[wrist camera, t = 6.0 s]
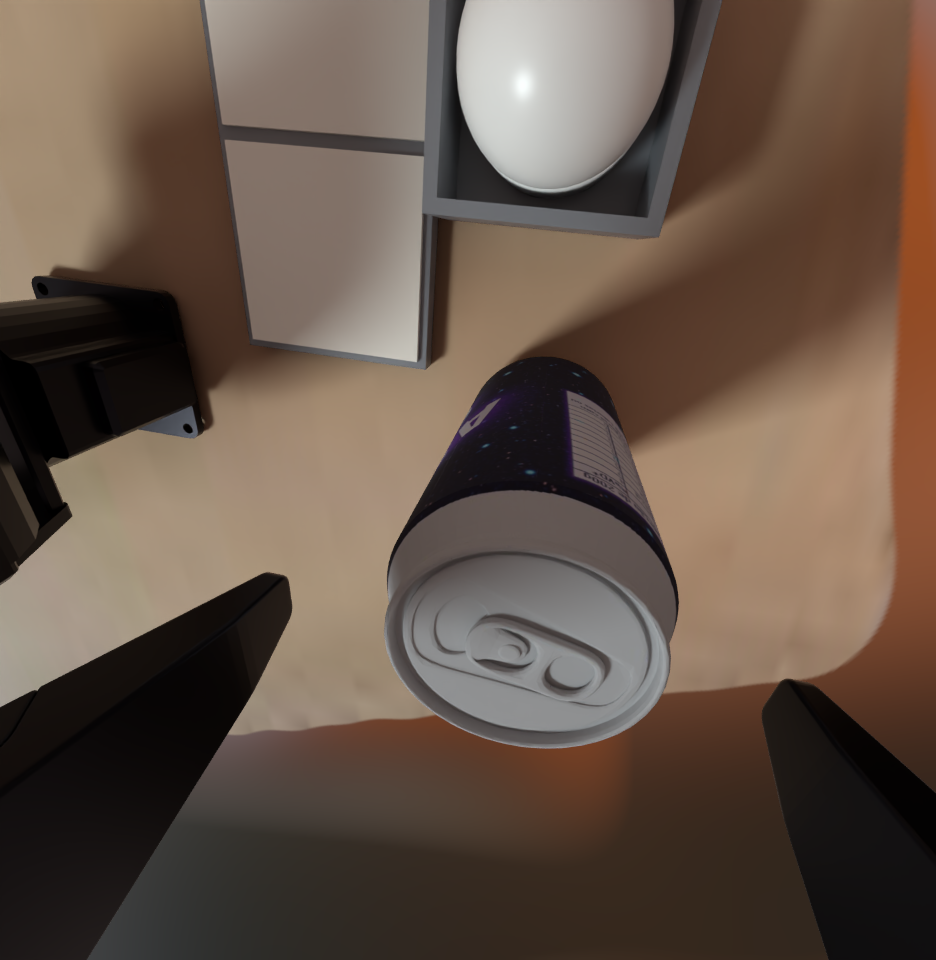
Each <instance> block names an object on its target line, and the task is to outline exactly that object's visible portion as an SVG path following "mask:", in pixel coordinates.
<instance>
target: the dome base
mask: <svg viewBox="0 0 936 960" xmlns="http://www.w3.org/2000/svg"><path fill="white" fill-rule="evenodd" d="M465 2H466V0H429V26H428V54H427V83H426V111H425V140H424V168H423V197H422V213H423V214H427V215H431V216H435V217H439V218H443V219H447V220H454V221H464V222H474V223H484V224H493V225H503V226H513V227H523V228H533V229H542V230H552V231H562V232H572V233H582V234H592V235H601V236H611V237H621V238H631V239H646V238H656V237H659V236H660V232H661V228H662V224H663V221H664V217H665V213H666V209H667V206H668V202H669V198H670V194H671V191H672V187H673V183H674V180H675V176H676V172H677V168H678V165H679V161H680V157H681V153H682V150H683V146H684V142H685V138H686V135H687V131H688V127H689V123H690V120H691V116H692V112H693V108H694V105H695V101H696V97H697V93H698V90H699V86H700V82H701V78H702V75H703V71H704V67H705V63H706V60H707V56H708V52H709V48H710V45H711V41H712V37H713V34H714V30H715V26H716V22H717V19H718V15H719V11H720V7H721V4H722V0H674V34H673V46H672V52H671V58H670V63H669V68H668V71H667V75H666V78H665V82H664V85H663V88H662V90H661V93H660V95H659V98H658V100H657V103H656V105H655V107H654V109H653V111H652V113H651V115H650V117H649V119H648V121H647V123H646V124H645V126H644V127H643V129H642V131H641V132H640V134H639V135H638V137H637V138H636V140H635V141H634V142H633V144H632V145H631V147H630V148H629V149H628V151H627V152H626V154H625V155H624V156H623V158H622V159H621V160H620V161H619V162H618V164H617V165H616V166H615V167H614V168H613V169H612V170H611V171H610V172H609V173H608V174H607V175H606V176H605V177H604V178H602V179H601V180H600V181H599V182H597V183H596V184H594V185H593V186H591V187H589V188H588V189H586V190H584V191H582V192H579V193H577V194H574V195H571V196H567V197H562V198H540V197H534V196H531V195H528V194H526V193H523V192H522V191H520V190H518V189H516V188H514V187H513V186H512V185H510V184H509V183H508V182H507V181H506V180H505V179H504V178H503V177H502V176H501V175H500V174H499V173H498V172H497V171H496V169H495V168H494V167H493V166H492V165H491V163H490V162H489V161H488V160H487V158H486V157H485V156H484V154H483V153H482V152H481V150H480V149H479V147H478V145H477V144H476V142H475V140H474V139H473V136H472V134H471V132H470V129H469V127H468V125H467V122H466V120H465V117H464V113H463V110H462V107H461V102H460V97H459V91H458V82H457V42H458V33H459V27H460V22H461V17H462V12H463V9H464V6H465Z"/></svg>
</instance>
